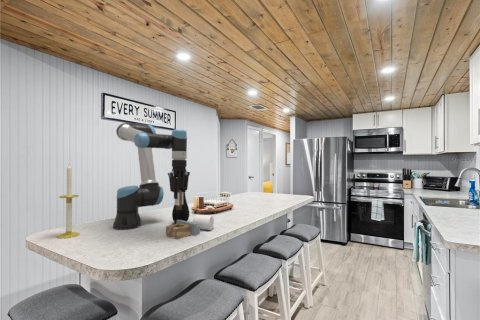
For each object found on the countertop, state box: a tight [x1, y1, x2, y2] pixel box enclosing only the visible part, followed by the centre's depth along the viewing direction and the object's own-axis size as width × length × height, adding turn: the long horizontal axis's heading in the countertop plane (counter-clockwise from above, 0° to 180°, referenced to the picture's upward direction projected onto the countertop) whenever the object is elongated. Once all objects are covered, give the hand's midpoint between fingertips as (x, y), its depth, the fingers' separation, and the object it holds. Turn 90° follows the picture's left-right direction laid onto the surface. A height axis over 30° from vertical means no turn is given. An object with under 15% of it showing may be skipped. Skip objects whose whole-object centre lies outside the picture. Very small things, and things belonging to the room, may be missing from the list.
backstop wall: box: [176, 220, 201, 237], centre depth 138 cm, size 14×5×6 cm, turn 55°
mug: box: [192, 214, 214, 231], centre depth 147 cm, size 12×10×8 cm
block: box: [165, 223, 192, 240], centre depth 132 cm, size 9×9×5 cm
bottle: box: [171, 184, 190, 224], centre depth 158 cm, size 11×11×30 cm
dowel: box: [177, 190, 182, 210], centre depth 132 cm, size 3×3×10 cm
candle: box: [57, 162, 81, 239], centre depth 131 cm, size 10×10×38 cm
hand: (178, 204), depth 132 cm, fingers closed on dowel, 2 cm apart
